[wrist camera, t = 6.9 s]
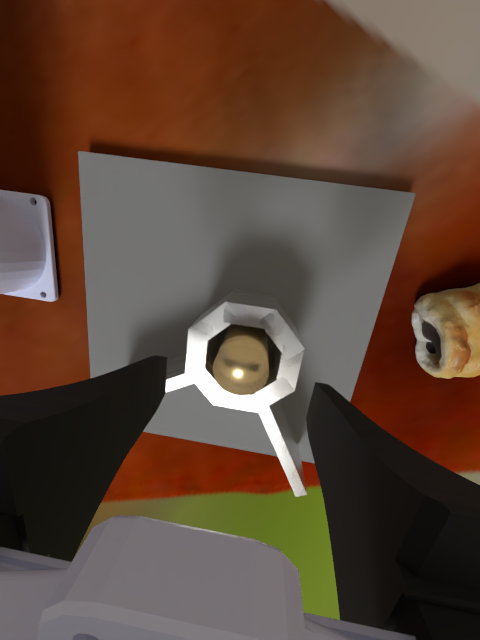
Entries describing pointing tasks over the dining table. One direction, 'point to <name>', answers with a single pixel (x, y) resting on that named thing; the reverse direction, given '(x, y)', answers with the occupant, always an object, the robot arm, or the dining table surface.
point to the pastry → (448, 332)
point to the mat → (232, 275)
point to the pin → (242, 360)
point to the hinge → (282, 368)
